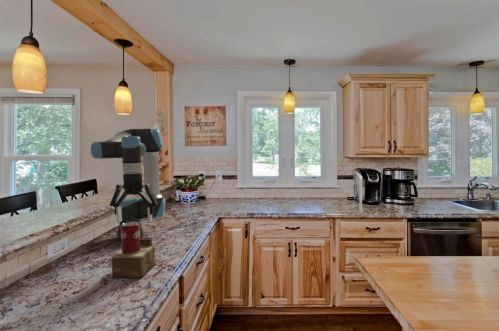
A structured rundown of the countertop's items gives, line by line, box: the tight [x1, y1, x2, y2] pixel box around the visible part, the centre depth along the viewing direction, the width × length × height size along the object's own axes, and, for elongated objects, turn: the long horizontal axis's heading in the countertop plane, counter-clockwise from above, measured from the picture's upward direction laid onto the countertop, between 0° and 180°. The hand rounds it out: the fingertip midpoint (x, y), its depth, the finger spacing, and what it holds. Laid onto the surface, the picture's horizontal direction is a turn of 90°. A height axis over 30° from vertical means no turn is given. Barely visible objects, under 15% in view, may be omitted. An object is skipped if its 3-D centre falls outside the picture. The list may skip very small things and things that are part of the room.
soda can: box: [120, 222, 141, 255], centre depth 121 cm, size 7×7×12 cm
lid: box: [111, 238, 155, 259], centre depth 124 cm, size 14×12×4 cm
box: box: [111, 247, 156, 280], centre depth 124 cm, size 14×12×8 cm
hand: (134, 222), depth 125 cm, fingers open, 13 cm apart
